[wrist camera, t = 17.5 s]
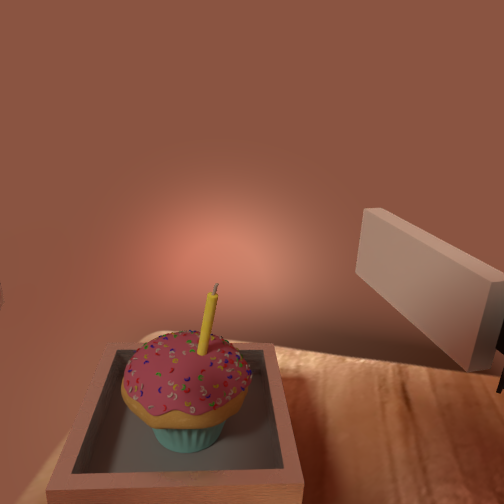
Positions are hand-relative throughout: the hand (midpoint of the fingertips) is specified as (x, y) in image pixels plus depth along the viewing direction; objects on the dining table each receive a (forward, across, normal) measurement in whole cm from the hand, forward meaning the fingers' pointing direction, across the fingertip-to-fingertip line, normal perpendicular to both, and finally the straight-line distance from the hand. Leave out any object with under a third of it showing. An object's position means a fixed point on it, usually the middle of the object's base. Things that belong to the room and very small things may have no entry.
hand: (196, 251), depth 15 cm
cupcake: (+10, 0, -18) cm, 20 cm away
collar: (+10, 0, -18) cm, 20 cm away
